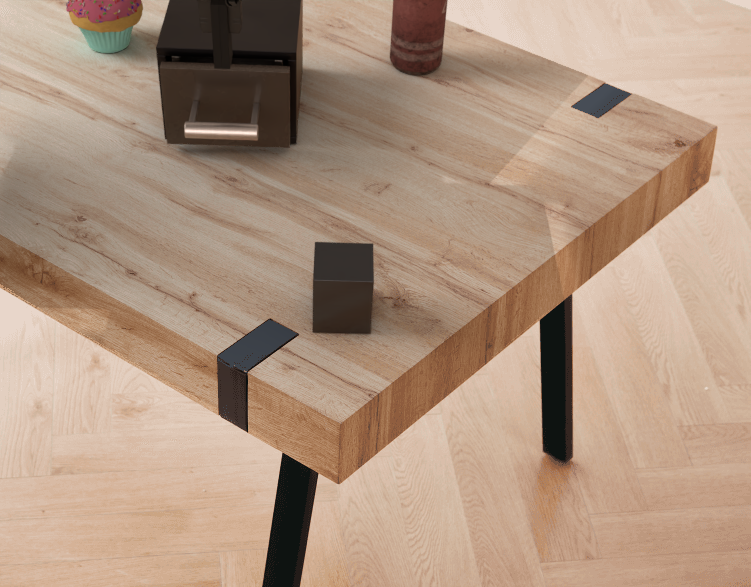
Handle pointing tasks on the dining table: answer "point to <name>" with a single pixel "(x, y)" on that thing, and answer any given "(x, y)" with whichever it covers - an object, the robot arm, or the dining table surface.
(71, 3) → the cupcake
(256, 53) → the dark brown cabinet
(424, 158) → the dining table surface
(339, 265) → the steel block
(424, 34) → the can
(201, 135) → the drawer
